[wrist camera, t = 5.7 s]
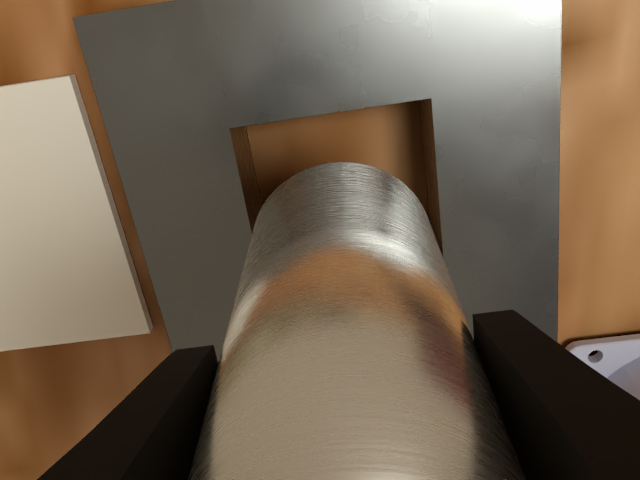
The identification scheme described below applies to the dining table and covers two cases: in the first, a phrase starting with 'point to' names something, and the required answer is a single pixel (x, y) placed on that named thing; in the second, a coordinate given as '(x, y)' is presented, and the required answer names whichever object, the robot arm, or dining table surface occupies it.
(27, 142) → the mat
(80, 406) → the dining table surface
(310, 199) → the silver metal cylinder
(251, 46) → the housing
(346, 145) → the dining table surface
